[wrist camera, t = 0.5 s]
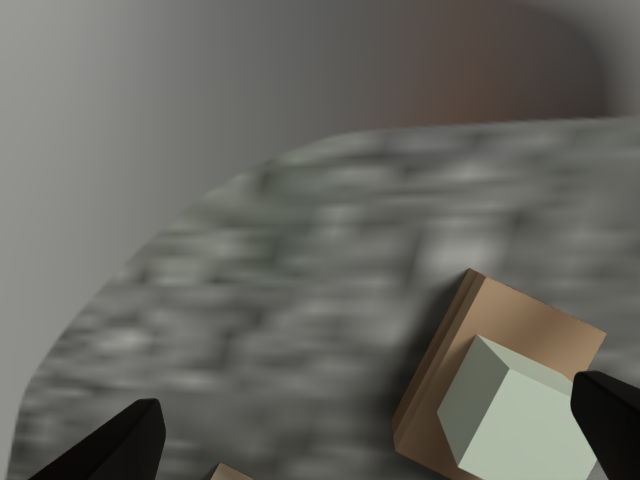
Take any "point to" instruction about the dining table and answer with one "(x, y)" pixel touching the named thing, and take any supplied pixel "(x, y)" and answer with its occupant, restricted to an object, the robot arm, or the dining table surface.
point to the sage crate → (513, 418)
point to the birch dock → (228, 474)
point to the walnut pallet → (453, 344)
